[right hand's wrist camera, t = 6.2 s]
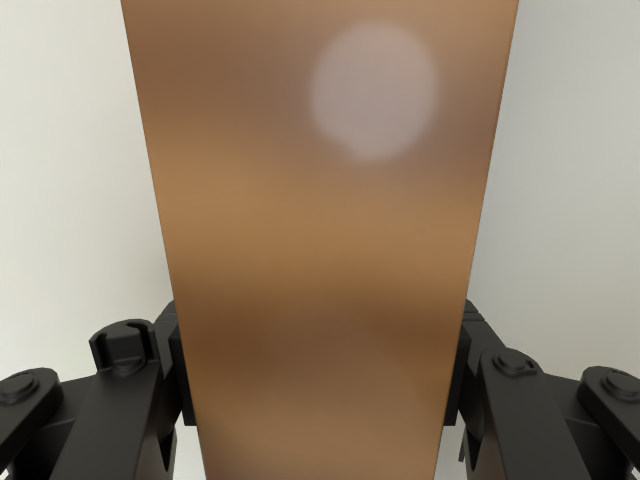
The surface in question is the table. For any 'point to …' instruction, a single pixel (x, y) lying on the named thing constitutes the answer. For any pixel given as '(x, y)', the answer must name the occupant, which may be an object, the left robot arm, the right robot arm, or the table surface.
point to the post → (319, 218)
